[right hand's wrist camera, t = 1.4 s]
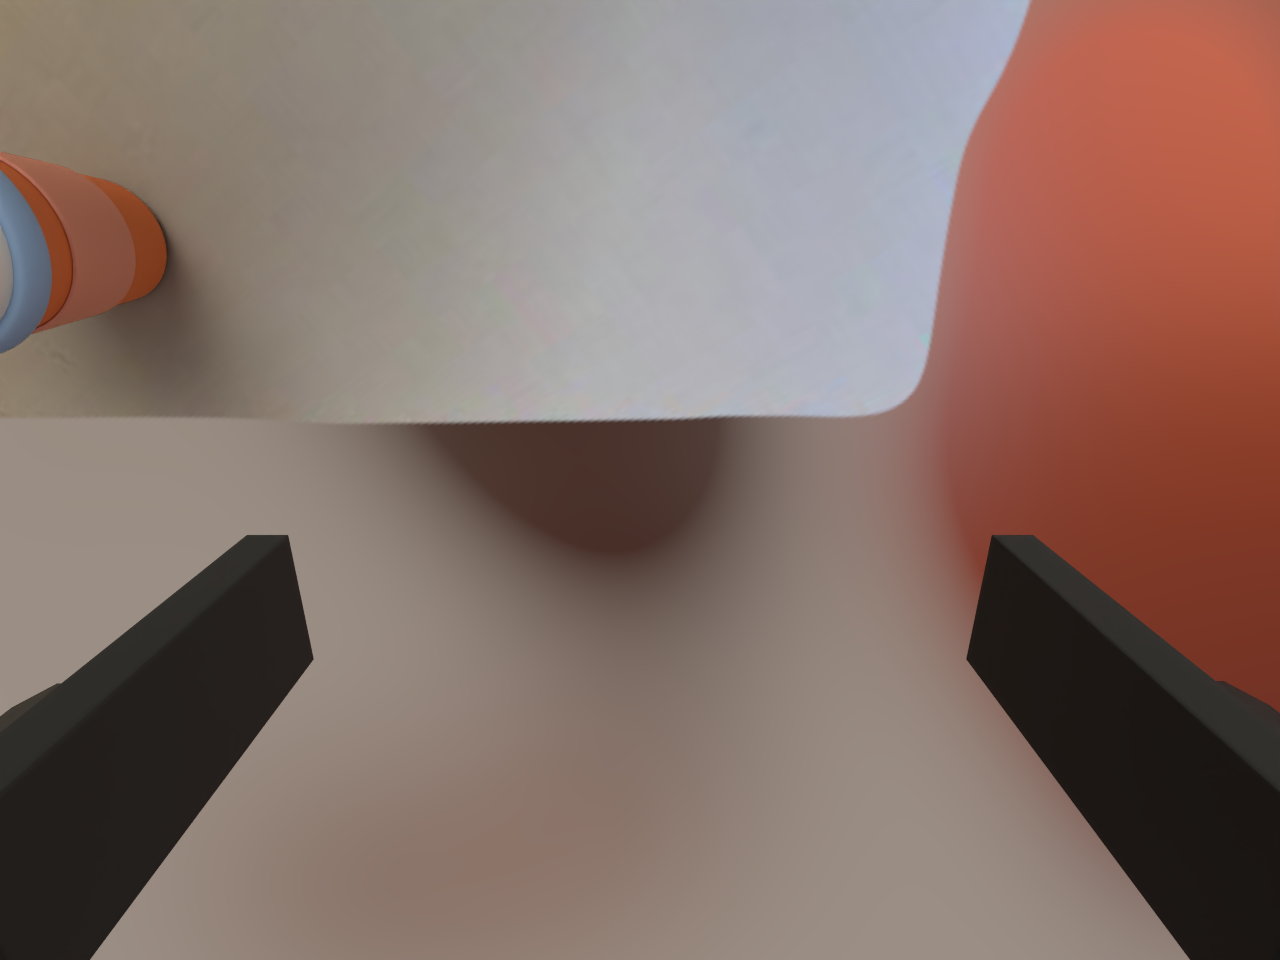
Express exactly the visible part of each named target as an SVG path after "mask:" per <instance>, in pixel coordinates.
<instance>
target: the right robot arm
mask: <svg viewBox="0 0 1280 960" xmlns="http://www.w3.org/2000/svg"><path fill="white" fill-rule="evenodd" d="M312 661H313V654H312V649H311V644H310V639H309V635H308V630H307V625H306V620H305V615H304V610H303V605H302V600H301V596H300V591H299V586H298V581H297V576H296V572H295V566H294V562H293V557H292V552H291V547H290V542H289V537H288V535H247V536H245V537H244V538H243V539H242V540H240V541H239V542H238V543H237V544H235V545H234V546H233V547H232V548H230V549H229V550H228V551H227V552H225V553H224V554H223V555H222V556H220V557H219V558H218V559H217V560H215V561H214V562H213V563H212V564H210V565H209V566H208V567H207V568H205V569H204V570H203V571H202V572H200V573H199V574H198V575H197V576H195V577H194V578H193V579H192V580H190V581H189V582H188V583H187V584H185V585H184V586H183V587H182V588H180V589H179V590H178V591H177V592H175V593H174V594H173V595H172V596H170V597H169V598H168V599H167V600H165V601H164V602H163V603H162V604H160V605H159V606H158V607H157V608H155V609H154V610H153V611H152V612H150V613H149V614H148V615H147V616H145V617H144V618H143V619H142V620H140V621H139V622H138V623H137V624H135V625H134V626H133V627H132V628H130V629H129V630H128V631H127V632H125V633H124V634H123V635H122V636H120V637H119V638H118V639H117V640H115V641H114V642H113V643H112V644H110V645H109V646H108V647H107V648H105V649H104V650H103V651H102V652H100V653H99V654H98V655H97V656H95V657H94V658H93V659H92V660H90V661H89V662H88V663H87V664H85V665H84V666H83V667H82V668H80V669H79V670H78V671H77V672H75V673H74V674H73V675H72V676H70V677H69V678H68V679H67V680H65V681H64V682H63V683H62V684H55V685H54V686H52V687H50V688H48V689H46V690H44V691H42V692H40V693H38V694H37V695H35V696H33V697H31V698H29V699H27V700H25V701H23V702H21V703H20V704H18V705H16V706H14V707H12V708H11V709H9V710H8V711H7V712H6V713H4V714H3V715H2V716H0V960H90V959H91V957H92V956H93V955H94V953H95V952H96V951H97V949H98V948H99V947H100V945H101V944H102V943H103V941H104V940H105V939H106V937H107V936H108V935H109V933H110V932H111V931H112V929H113V928H114V927H115V925H116V924H117V923H118V921H119V920H120V919H121V917H122V916H123V914H124V913H125V912H126V910H127V909H128V908H129V906H130V905H131V904H132V902H133V901H134V900H135V898H136V897H137V896H138V894H139V893H140V892H141V890H142V889H143V888H144V886H145V885H146V884H147V882H148V881H149V880H150V878H151V877H152V876H153V874H154V873H155V871H156V870H157V869H158V868H159V866H160V865H161V863H162V862H163V861H164V859H165V858H166V857H167V855H168V854H169V853H170V851H171V850H172V849H173V847H174V846H175V845H176V843H177V842H178V841H179V839H180V838H181V837H182V835H183V834H184V833H185V831H186V830H187V829H188V827H189V826H190V825H191V823H192V822H193V820H194V819H195V818H196V816H197V815H198V814H199V812H200V811H201V810H202V808H203V807H204V806H205V804H206V803H207V802H208V800H209V799H210V798H211V796H212V795H213V794H214V792H215V791H216V790H217V788H218V787H219V786H220V784H221V783H222V782H223V780H224V779H225V778H226V776H227V775H228V773H229V772H230V771H231V769H232V768H233V767H234V765H235V764H236V763H237V761H238V760H239V759H240V757H241V756H242V755H243V753H244V752H245V751H246V749H247V748H248V747H249V745H250V744H251V743H252V741H253V740H254V738H255V737H256V736H257V734H258V733H259V732H260V730H261V729H262V728H263V726H264V725H265V724H266V722H267V721H268V720H269V718H270V717H271V716H272V714H273V713H274V712H275V710H276V709H277V708H278V706H279V705H280V704H281V702H282V701H283V700H284V698H285V697H286V696H287V694H288V693H289V691H290V690H291V689H292V688H293V686H294V685H295V683H296V682H297V681H298V679H299V678H300V677H301V675H302V674H303V673H304V671H305V670H306V669H307V667H308V666H309V665H310V663H311V662H312ZM967 661H968V662H969V663H970V665H971V666H972V667H973V669H974V670H975V671H976V673H977V674H978V675H979V677H980V678H981V679H982V681H983V682H984V683H985V685H986V686H987V688H988V689H989V690H990V692H991V693H992V694H993V695H994V697H995V698H996V700H997V701H998V702H999V704H1000V705H1001V706H1002V708H1003V709H1004V710H1005V712H1006V713H1007V714H1008V716H1009V717H1010V718H1011V720H1012V721H1013V722H1014V724H1015V725H1016V726H1017V728H1018V729H1019V731H1020V732H1021V733H1022V735H1023V736H1024V737H1025V739H1026V740H1027V741H1028V743H1029V744H1030V745H1031V747H1032V748H1033V749H1034V751H1035V752H1036V753H1037V755H1038V756H1039V757H1040V759H1041V760H1042V761H1043V763H1044V764H1045V765H1046V767H1047V768H1048V769H1049V771H1050V772H1051V773H1052V775H1053V776H1054V777H1055V779H1056V780H1057V782H1058V783H1059V784H1060V786H1061V787H1062V788H1063V790H1064V791H1065V792H1066V794H1067V795H1068V796H1069V798H1070V799H1071V800H1072V802H1073V803H1074V804H1075V806H1076V807H1077V808H1078V810H1079V811H1080V812H1081V814H1082V815H1083V816H1084V818H1085V819H1086V821H1087V822H1088V823H1089V824H1090V826H1091V827H1092V829H1093V830H1094V831H1095V832H1096V834H1097V835H1098V837H1099V838H1100V839H1101V841H1102V842H1103V843H1104V845H1105V846H1106V847H1107V849H1108V850H1109V851H1110V853H1111V854H1112V855H1113V857H1114V858H1115V859H1116V861H1117V862H1118V863H1119V865H1120V866H1121V867H1122V869H1123V870H1124V871H1125V873H1126V874H1127V876H1128V877H1129V878H1130V880H1131V881H1132V882H1133V884H1134V885H1135V886H1136V888H1137V889H1138V890H1139V892H1140V893H1141V894H1142V896H1143V897H1144V898H1145V900H1146V901H1147V902H1148V904H1149V905H1150V906H1151V908H1152V909H1153V910H1154V912H1155V913H1156V914H1157V916H1158V917H1159V919H1160V920H1161V921H1162V923H1163V924H1164V925H1165V927H1166V928H1167V929H1168V931H1169V932H1170V933H1171V935H1172V936H1173V937H1174V939H1175V940H1176V941H1177V943H1178V944H1179V945H1180V947H1181V948H1182V949H1183V951H1184V952H1185V953H1186V955H1187V956H1188V958H1189V959H1190V960H1280V713H1279V712H1277V711H1276V710H1275V709H1274V708H1272V707H1271V706H1270V705H1268V704H1266V703H1264V702H1262V701H1260V700H1258V699H1257V698H1255V697H1253V696H1251V695H1249V694H1247V693H1245V692H1243V691H1241V690H1240V689H1238V688H1236V687H1234V686H1232V685H1230V684H1228V683H1226V682H1224V681H1215V680H1213V679H1212V678H1211V677H1210V676H1208V675H1207V674H1206V673H1205V672H1203V671H1202V670H1201V669H1200V668H1198V667H1197V666H1196V665H1195V664H1193V663H1192V662H1191V661H1190V660H1188V659H1187V658H1186V657H1185V656H1183V655H1182V654H1181V653H1180V652H1178V651H1177V650H1176V649H1175V648H1173V647H1172V646H1171V645H1170V644H1168V643H1167V642H1166V641H1165V640H1163V639H1162V638H1161V637H1160V636H1158V635H1157V634H1156V633H1155V632H1153V631H1152V630H1151V629H1150V628H1148V627H1147V626H1146V625H1145V624H1143V623H1142V622H1141V621H1140V620H1138V619H1137V618H1136V617H1135V616H1133V615H1132V614H1131V613H1130V612H1128V611H1127V610H1126V609H1125V608H1123V607H1122V606H1121V605H1120V604H1118V603H1117V602H1116V601H1115V600H1113V599H1112V598H1111V597H1110V596H1108V595H1107V594H1106V593H1105V592H1103V591H1102V590H1101V589H1100V588H1098V587H1097V586H1096V585H1095V584H1093V583H1092V582H1091V581H1090V580H1088V579H1087V578H1086V577H1085V576H1083V575H1082V574H1081V573H1080V572H1078V571H1077V570H1076V569H1075V568H1073V567H1072V566H1071V565H1070V564H1068V563H1067V562H1066V561H1065V560H1063V559H1062V558H1061V557H1060V556H1058V555H1057V554H1056V553H1055V552H1053V551H1052V550H1051V549H1050V548H1048V547H1047V546H1046V545H1045V544H1043V543H1042V542H1041V541H1040V540H1038V539H1037V538H1036V537H1035V536H1033V535H992V537H991V542H990V547H989V552H988V557H987V562H986V566H985V571H984V576H983V581H982V586H981V591H980V596H979V600H978V605H977V610H976V615H975V620H974V625H973V630H972V634H971V639H970V644H969V649H968V654H967Z"/></svg>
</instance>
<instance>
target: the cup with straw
mask: <svg viewBox="0 0 1280 960" xmlns="http://www.w3.org/2000/svg"><path fill="white" fill-rule="evenodd" d="M166 262H167V250H166V243H165V239H164V236H163V233H162V230H161V228H160V226H159V224H158V222H157V220H156V218H155V217H154V215H153V214H152V212H151V211H150V210H149V209H148V207H147V206H146V205H145V204H144V203H143V202H142V201H141V200H140V199H139V198H138V197H136V196H135V195H134V194H132V193H131V192H130V191H128V190H126V189H125V188H123V187H121V186H119V185H117V184H115V183H112V182H109V181H106V180H102V179H99V178H94V177H90V176H86V175H81V174H78V173H76V172H74V171H73V170H70V169H67V168H65V167H62V166H59V165H55V164H51V163H46V162H42V161H38V160H33V159H29V158H25V157H21V156H16V155H12V154H8V153H3V152H0V354H1V353H4V352H6V351H8V350H10V349H12V348H14V347H15V346H17V345H18V344H20V343H21V342H23V341H24V340H25V339H26V338H27V337H28V336H30V335H31V334H33V333H37V332H40V331H44V330H47V329H50V328H54V327H57V326H61V325H64V324H67V323H71V322H74V321H78V320H81V319H85V318H88V317H91V316H95V315H98V314H101V313H104V312H106V311H108V310H110V309H112V308H113V307H114V306H116V305H119V304H122V303H126V302H129V301H132V300H135V299H138V298H141V297H143V296H145V295H146V294H148V293H149V292H151V291H152V290H153V289H154V288H155V287H156V286H157V285H158V283H159V282H160V280H161V278H162V276H163V274H164V271H165V267H166Z"/></svg>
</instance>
